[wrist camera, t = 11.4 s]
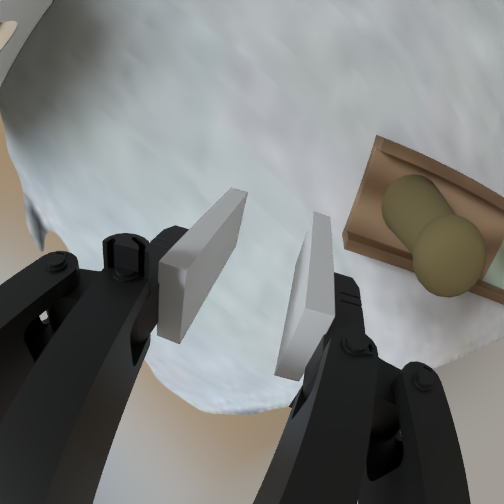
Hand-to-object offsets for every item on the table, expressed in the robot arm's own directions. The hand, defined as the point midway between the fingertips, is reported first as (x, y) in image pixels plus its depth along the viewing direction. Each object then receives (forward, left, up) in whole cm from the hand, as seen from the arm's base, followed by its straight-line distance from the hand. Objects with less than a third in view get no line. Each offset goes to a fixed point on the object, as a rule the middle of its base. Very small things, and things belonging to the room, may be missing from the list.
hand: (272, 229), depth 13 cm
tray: (0, +19, -15) cm, 24 cm away
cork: (0, +11, -13) cm, 17 cm away
